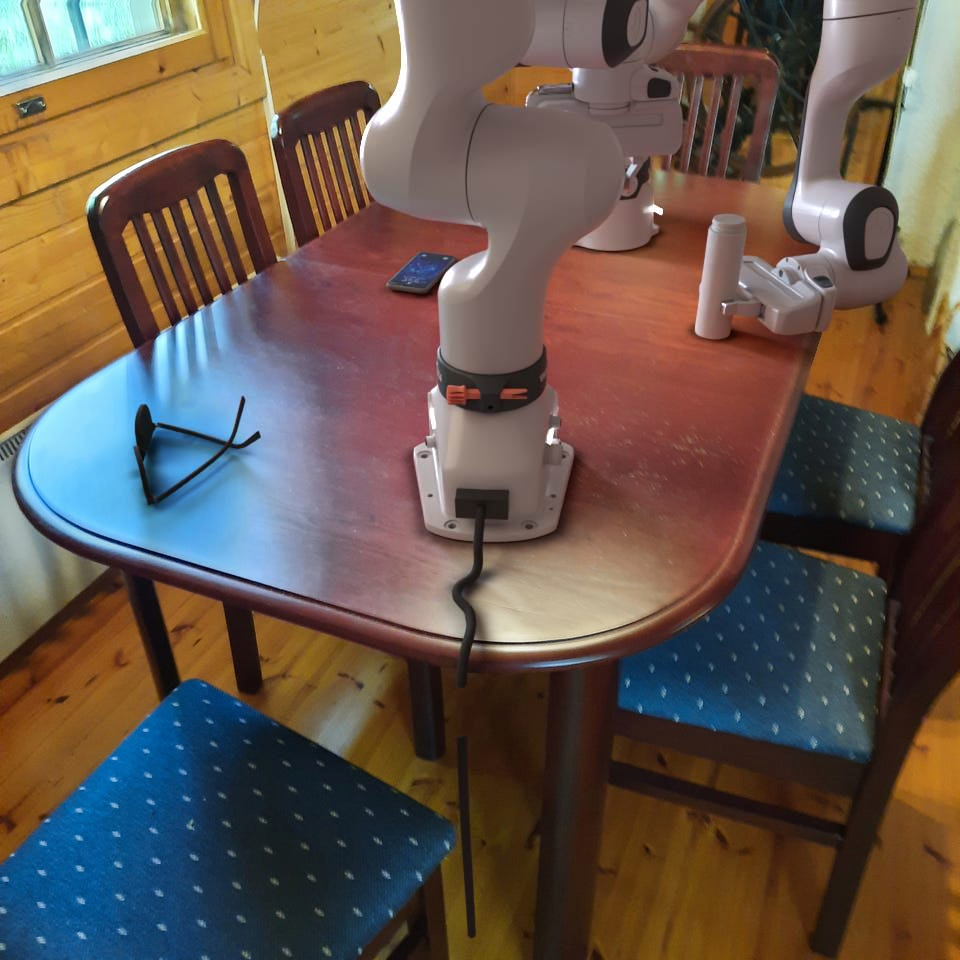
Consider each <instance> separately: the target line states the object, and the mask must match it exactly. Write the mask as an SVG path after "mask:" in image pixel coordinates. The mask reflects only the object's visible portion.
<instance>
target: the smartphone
mask: <svg viewBox="0 0 960 960" xmlns="http://www.w3.org/2000/svg"><path fill="white" fill-rule="evenodd" d="M456 263H457V257H456V255H451V254H445V253H444V254H443V253H436V252H428V251H420V252H417V253H416V254H415V255H414V257H412V258H411V259H410V260H409V261H408V262H407V263H406V264H405V265H404V266H403V267H402V268H401V269H400V270H399V271H398V272H397V273H396V274H395V275H394V276H392V278H390V279H389V280H388V281H387V283H386V289H389V290H392V291H399V292H405V293H413V294H419V295H424V294H427V293H428V292H429V291H430V290H432V288H433V287H434V286H435V285H436V284H437V283H438V282H439V281H440V280H441V279H442V278H443V277H444V275H445V274H446V272H447V271H448V270H449V269H450V268H451V267H452V266H453V265H455V264H456Z"/></svg>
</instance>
